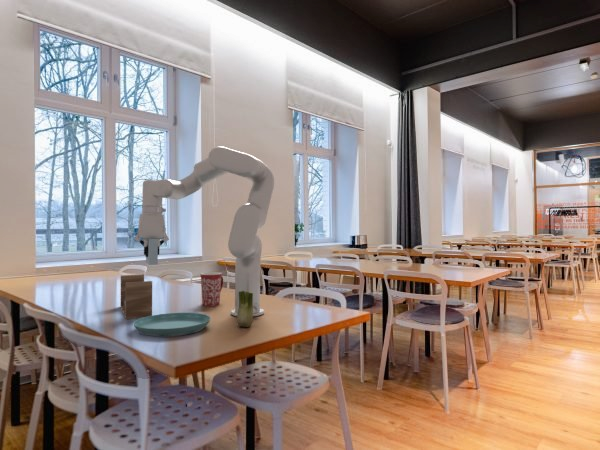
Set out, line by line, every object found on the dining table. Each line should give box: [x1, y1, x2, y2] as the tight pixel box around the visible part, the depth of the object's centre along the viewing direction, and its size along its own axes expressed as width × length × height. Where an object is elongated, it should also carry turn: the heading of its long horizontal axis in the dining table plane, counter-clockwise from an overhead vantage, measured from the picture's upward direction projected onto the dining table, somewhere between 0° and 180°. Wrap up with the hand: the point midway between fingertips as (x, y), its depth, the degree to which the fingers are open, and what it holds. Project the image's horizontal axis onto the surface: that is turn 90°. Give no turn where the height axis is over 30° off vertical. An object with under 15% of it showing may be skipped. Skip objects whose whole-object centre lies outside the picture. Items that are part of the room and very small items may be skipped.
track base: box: [119, 274, 153, 320], centre depth 162 cm, size 26×9×13 cm, turn 28°
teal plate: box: [132, 312, 211, 338], centre depth 135 cm, size 24×24×3 cm
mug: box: [200, 271, 224, 307], centre depth 179 cm, size 13×9×14 cm
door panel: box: [145, 239, 159, 266], centre depth 165 cm, size 12×3×10 cm, turn 27°
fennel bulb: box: [236, 291, 254, 328], centre depth 138 cm, size 6×5×12 cm
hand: (151, 256), depth 165 cm, fingers closed on door panel, 3 cm apart
